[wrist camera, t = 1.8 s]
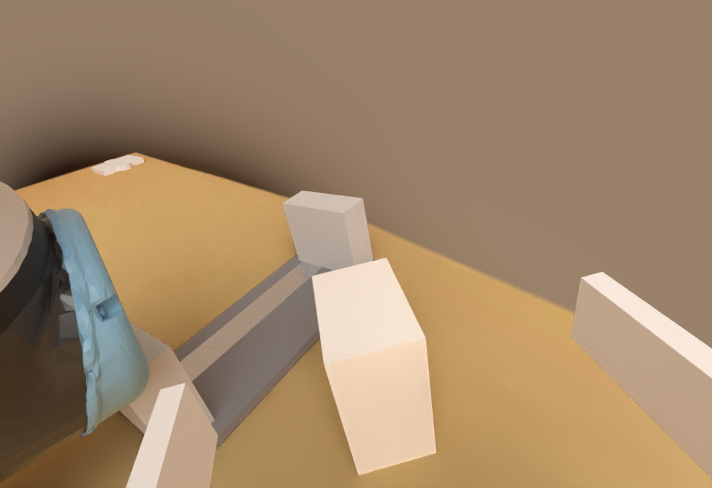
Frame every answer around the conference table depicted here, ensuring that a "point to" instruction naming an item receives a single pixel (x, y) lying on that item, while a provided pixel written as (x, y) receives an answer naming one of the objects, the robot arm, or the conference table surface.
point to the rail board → (252, 344)
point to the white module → (375, 365)
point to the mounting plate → (117, 165)
